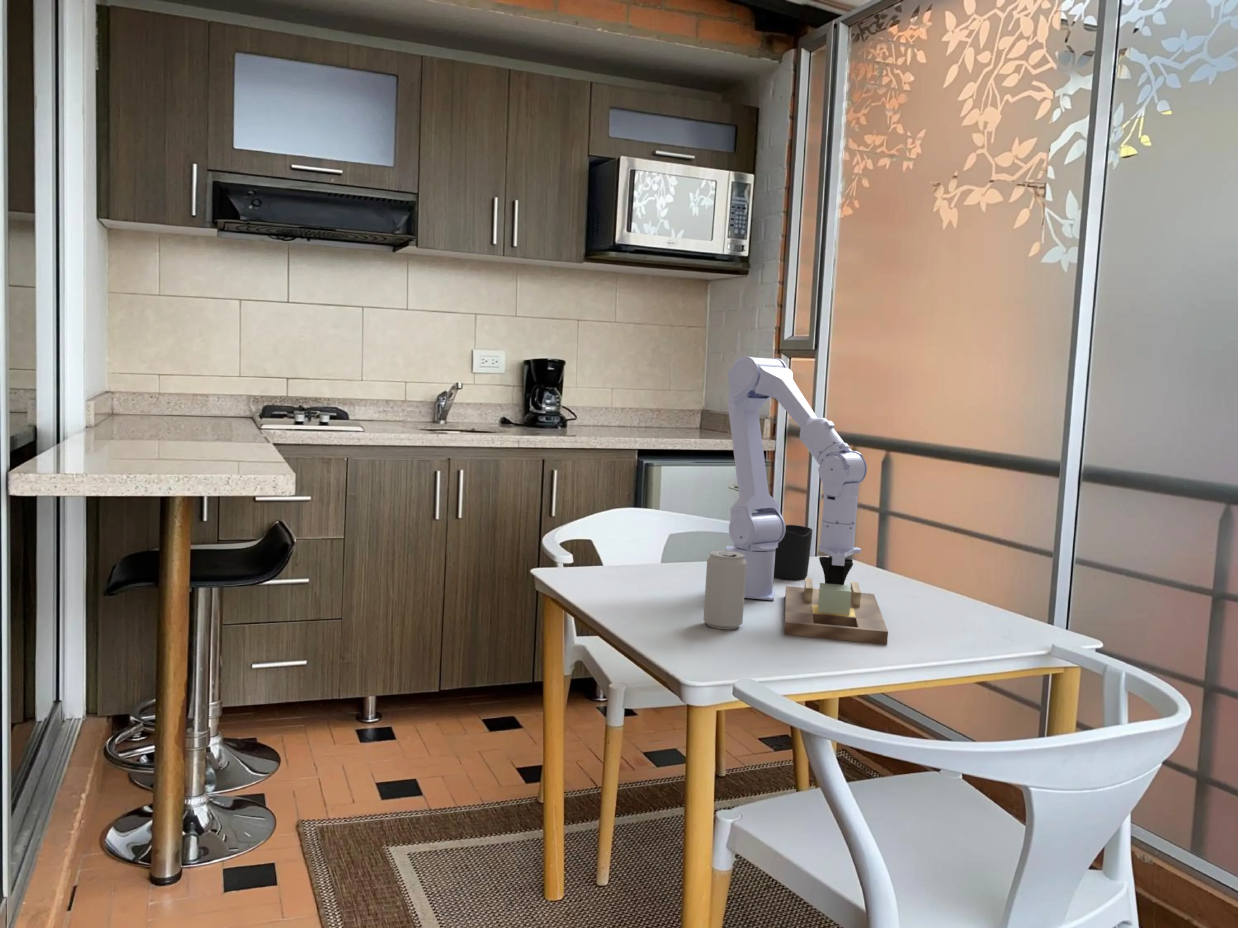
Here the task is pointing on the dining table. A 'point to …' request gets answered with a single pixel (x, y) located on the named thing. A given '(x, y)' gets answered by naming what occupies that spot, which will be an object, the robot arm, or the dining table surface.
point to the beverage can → (725, 589)
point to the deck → (834, 616)
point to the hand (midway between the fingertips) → (832, 599)
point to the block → (834, 598)
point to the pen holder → (793, 553)
